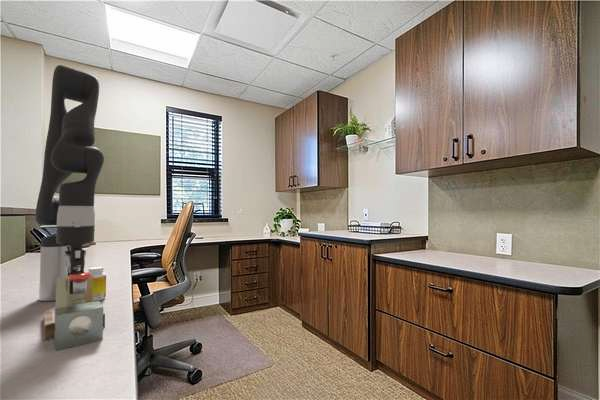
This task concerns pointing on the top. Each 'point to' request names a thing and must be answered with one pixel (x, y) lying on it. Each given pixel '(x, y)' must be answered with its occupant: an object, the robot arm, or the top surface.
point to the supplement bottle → (98, 283)
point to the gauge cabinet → (78, 325)
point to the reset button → (79, 282)
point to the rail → (50, 325)
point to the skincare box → (71, 299)
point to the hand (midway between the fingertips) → (74, 289)
